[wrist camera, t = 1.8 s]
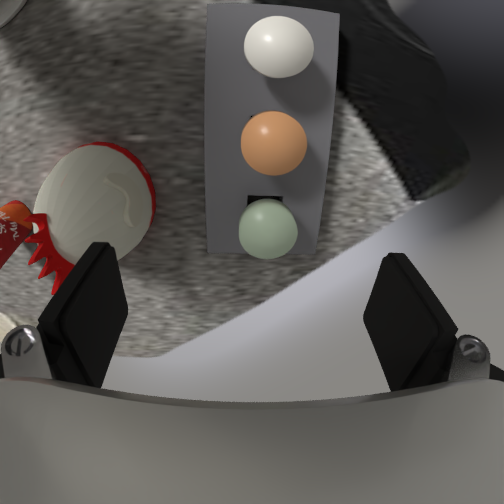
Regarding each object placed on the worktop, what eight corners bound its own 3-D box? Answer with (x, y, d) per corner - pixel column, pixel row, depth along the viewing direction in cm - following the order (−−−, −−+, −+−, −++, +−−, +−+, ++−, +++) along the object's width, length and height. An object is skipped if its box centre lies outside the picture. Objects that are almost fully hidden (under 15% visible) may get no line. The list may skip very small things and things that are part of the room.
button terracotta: (241, 106, 25) (241, 110, 21) (297, 109, 25) (309, 114, 21) (240, 159, 28) (239, 174, 24) (294, 161, 28) (303, 177, 24)
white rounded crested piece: (89, 260, 37) (40, 340, 24) (40, 174, 30) (-38, 230, 17) (175, 226, 35) (142, 315, 22) (124, 120, 28) (46, 155, 15)
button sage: (239, 186, 29) (239, 206, 25) (291, 188, 30) (300, 208, 25) (238, 233, 32) (238, 258, 28) (287, 234, 32) (294, 259, 28)
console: (210, 11, 22) (207, 3, 19) (330, 19, 22) (339, 13, 20) (209, 239, 36) (207, 253, 33) (309, 241, 36) (315, 254, 34)
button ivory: (244, 26, 21) (245, 14, 17) (302, 30, 21) (314, 20, 17) (242, 77, 24) (242, 75, 19) (299, 81, 24) (312, 80, 20)
